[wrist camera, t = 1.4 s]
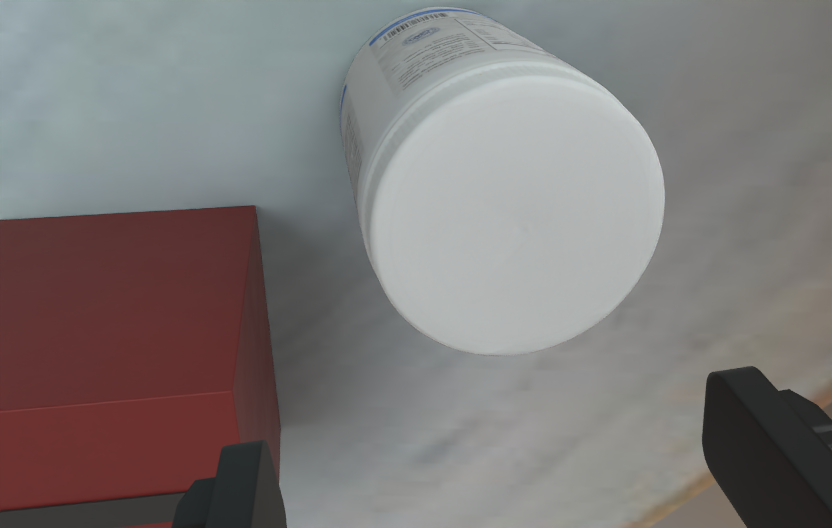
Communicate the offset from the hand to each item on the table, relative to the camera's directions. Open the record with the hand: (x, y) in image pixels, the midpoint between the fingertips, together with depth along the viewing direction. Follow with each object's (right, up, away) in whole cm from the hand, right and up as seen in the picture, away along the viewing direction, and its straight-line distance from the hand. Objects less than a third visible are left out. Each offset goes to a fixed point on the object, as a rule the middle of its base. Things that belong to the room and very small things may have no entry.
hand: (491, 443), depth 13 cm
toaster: (-15, -1, +25) cm, 29 cm away
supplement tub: (0, +11, +22) cm, 24 cm away
